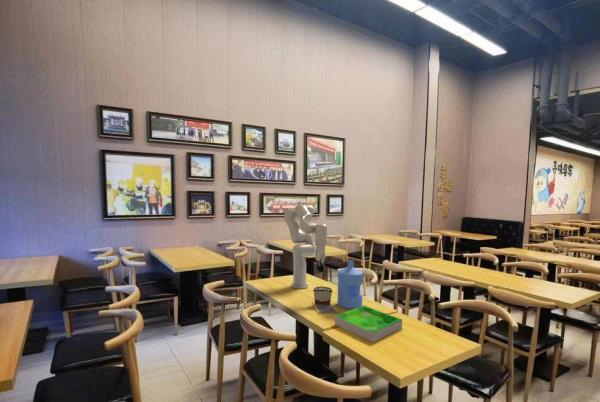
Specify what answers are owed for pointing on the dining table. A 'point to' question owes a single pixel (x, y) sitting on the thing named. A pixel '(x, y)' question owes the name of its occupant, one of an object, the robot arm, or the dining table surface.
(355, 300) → the water jug
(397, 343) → the dining table surface
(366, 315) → the tray
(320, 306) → the mat
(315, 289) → the food container
